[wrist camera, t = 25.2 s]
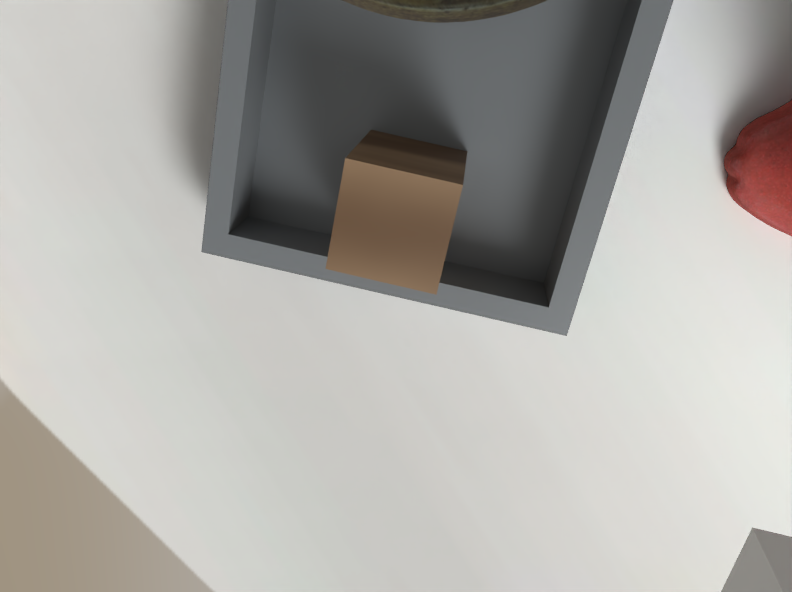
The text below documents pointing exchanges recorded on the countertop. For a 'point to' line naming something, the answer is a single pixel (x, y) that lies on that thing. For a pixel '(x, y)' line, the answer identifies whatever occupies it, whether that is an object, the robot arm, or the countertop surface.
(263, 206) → the tray
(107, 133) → the countertop surface
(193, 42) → the countertop surface
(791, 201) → the stacking bear
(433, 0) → the container
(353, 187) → the walnut block
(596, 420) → the countertop surface
